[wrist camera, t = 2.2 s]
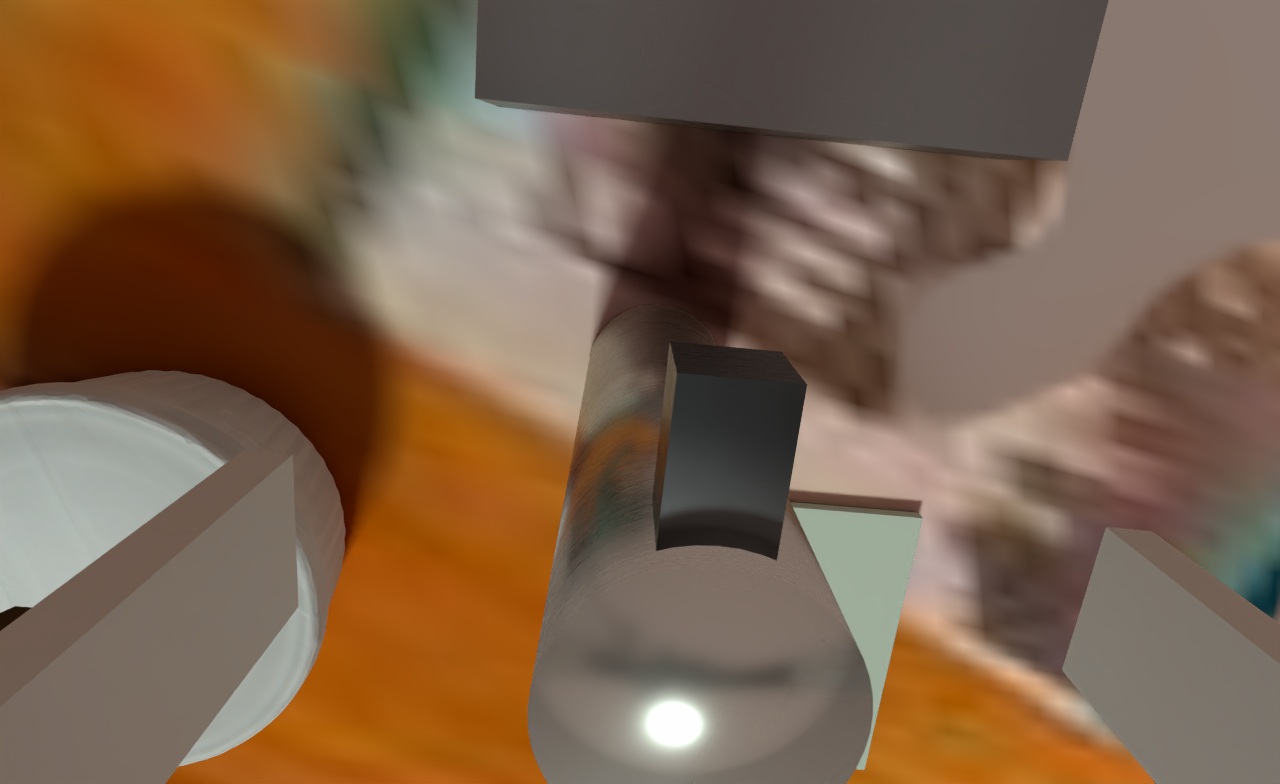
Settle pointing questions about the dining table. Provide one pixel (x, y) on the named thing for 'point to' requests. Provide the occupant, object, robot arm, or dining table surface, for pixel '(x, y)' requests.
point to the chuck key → (690, 579)
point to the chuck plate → (805, 68)
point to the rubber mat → (865, 576)
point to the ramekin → (157, 503)
